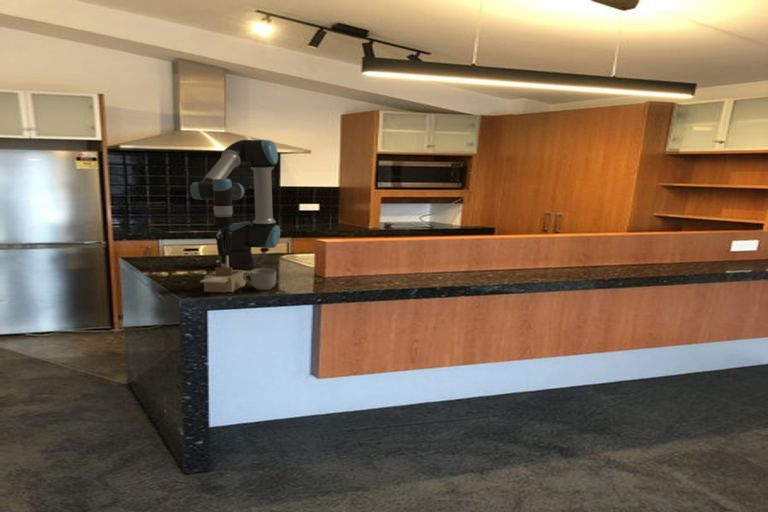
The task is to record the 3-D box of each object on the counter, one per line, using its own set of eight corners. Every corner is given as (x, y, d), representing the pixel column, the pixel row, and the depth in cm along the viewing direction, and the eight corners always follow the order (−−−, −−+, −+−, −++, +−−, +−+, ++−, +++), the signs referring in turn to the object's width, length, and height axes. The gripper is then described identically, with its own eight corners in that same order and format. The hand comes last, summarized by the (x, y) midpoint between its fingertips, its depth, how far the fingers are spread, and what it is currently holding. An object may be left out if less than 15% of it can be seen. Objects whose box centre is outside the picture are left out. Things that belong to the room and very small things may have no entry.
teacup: (278, 286, 232) (278, 268, 231) (274, 291, 222) (274, 273, 220) (246, 285, 232) (246, 268, 231) (240, 291, 221) (240, 273, 220)
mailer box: (220, 283, 236) (219, 269, 235) (246, 284, 235) (245, 270, 234) (204, 291, 220) (203, 276, 219) (231, 292, 219) (231, 277, 218)
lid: (214, 275, 227) (214, 266, 226) (236, 276, 226) (236, 267, 225) (200, 282, 214) (199, 272, 213) (223, 283, 213) (222, 273, 212)
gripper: (221, 214, 229) (223, 267, 233) (208, 216, 216) (210, 273, 220) (237, 214, 228) (239, 268, 232) (225, 217, 215) (227, 273, 219)
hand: (225, 270), depth 226 cm, fingers closed
